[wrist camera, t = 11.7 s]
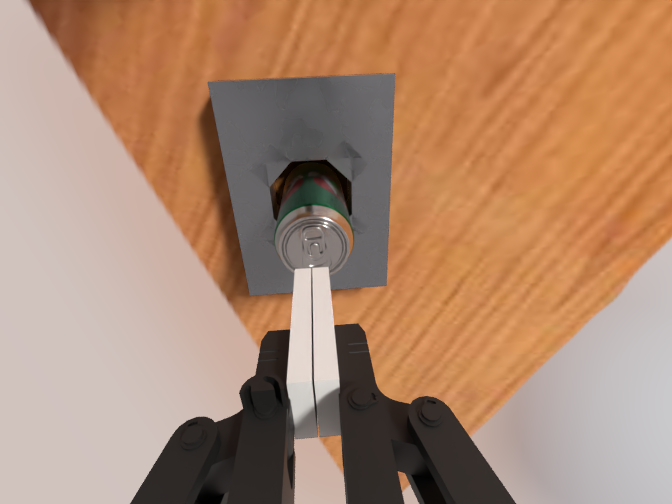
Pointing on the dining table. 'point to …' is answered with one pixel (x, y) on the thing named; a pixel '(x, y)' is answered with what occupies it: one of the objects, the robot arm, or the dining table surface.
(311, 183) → the soda can
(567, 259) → the dining table surface
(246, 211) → the plate
